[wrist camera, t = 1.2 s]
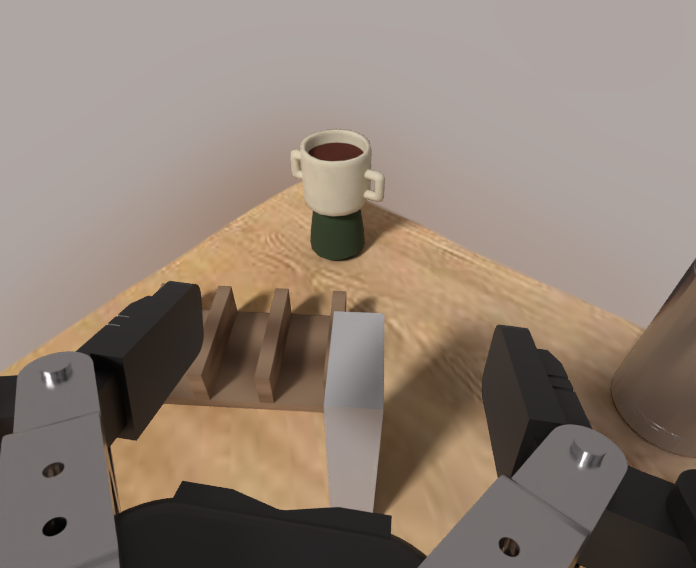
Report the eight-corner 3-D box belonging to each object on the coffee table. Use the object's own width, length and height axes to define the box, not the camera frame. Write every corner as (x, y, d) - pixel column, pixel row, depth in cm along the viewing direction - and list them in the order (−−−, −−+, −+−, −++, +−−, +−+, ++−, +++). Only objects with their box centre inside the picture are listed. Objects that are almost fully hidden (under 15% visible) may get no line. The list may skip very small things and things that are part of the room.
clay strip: (337, 446, 37) (334, 311, 26) (372, 448, 37) (384, 313, 26) (331, 526, 33) (323, 406, 22) (371, 529, 33) (383, 409, 22)
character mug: (392, 243, 55) (401, 141, 46) (365, 280, 51) (369, 175, 42) (313, 218, 59) (307, 119, 50) (282, 250, 55) (269, 147, 46)
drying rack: (174, 315, 47) (162, 283, 44) (346, 323, 47) (346, 291, 43) (136, 402, 40) (118, 371, 37) (338, 413, 39) (338, 382, 36)
